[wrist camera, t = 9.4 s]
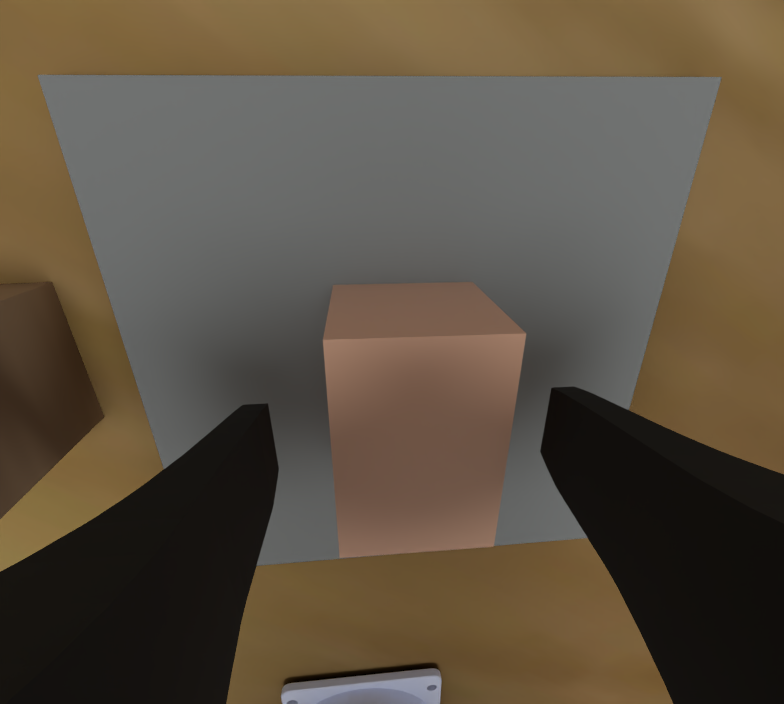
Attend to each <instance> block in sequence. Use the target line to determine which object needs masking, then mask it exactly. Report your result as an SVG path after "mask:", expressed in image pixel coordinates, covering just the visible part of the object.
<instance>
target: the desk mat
mask: <svg viewBox="0 0 784 704" xmlns="http://www.w3.org/2000/svg"><path fill="white" fill-rule="evenodd" d="M38 78H39V81H40V84H41V87H42V90H43V93H44V97H45V100H46V103H47V106H48V109H49V112H50V115H51V118H52V122H53V125H54V128H55V131H56V134H57V137H58V140H59V143H60V146H61V150H62V153H63V156H64V159H65V162H66V165H67V168H68V171H69V175H70V178H71V181H72V184H73V187H74V190H75V193H76V196H77V199H78V203H79V206H80V209H81V212H82V215H83V218H84V221H85V224H86V228H87V231H88V234H89V237H90V240H91V243H92V246H93V249H94V253H95V256H96V259H97V262H98V265H99V268H100V271H101V274H102V277H103V281H104V284H105V287H106V290H107V293H108V296H109V299H110V302H111V306H112V309H113V312H114V315H115V318H116V321H117V324H118V327H119V330H120V334H121V337H122V340H123V343H124V346H125V349H126V352H127V355H128V359H129V362H130V365H131V368H132V371H133V374H134V377H135V380H136V383H137V387H138V390H139V393H140V396H141V399H142V402H143V405H144V408H145V412H146V415H147V418H148V421H149V424H150V427H151V430H152V433H153V437H154V440H155V443H156V446H157V449H158V452H159V455H160V458H161V461H162V465H163V468H164V469H165V468H166V467H168V466H169V465H170V464H172V463H173V462H174V461H176V460H177V459H178V458H179V457H181V456H182V455H183V454H185V453H186V452H187V451H188V450H189V449H191V448H192V447H193V446H194V445H195V444H197V443H198V442H199V441H200V440H201V439H202V438H204V437H205V436H206V435H207V434H208V433H210V432H211V431H212V430H213V429H214V428H215V427H217V426H218V425H219V424H220V423H221V422H222V421H224V420H225V419H226V418H227V417H228V416H229V415H231V414H232V413H233V412H234V411H235V410H237V409H238V408H239V407H240V406H242V405H246V404H265V403H268V406H269V412H270V418H271V424H272V430H273V436H274V442H275V448H276V454H277V460H278V466H279V472H278V479H277V486H276V493H275V499H274V505H273V509H272V513H271V517H270V520H269V524H268V527H267V531H266V534H265V538H264V541H263V545H262V548H261V552H260V555H259V558H258V562H257V565H256V566H259V565H271V564H283V563H295V562H307V561H319V560H331V559H342V558H340V556H339V543H338V530H337V517H336V504H335V491H334V478H333V465H332V452H331V439H330V426H329V413H328V400H327V387H326V374H325V361H324V348H323V337H324V331H325V326H326V320H327V315H328V310H329V304H330V299H331V293H332V288H333V285H349V284H397V283H445V282H473V283H474V284H475V285H476V286H477V287H478V288H479V289H480V290H481V291H482V292H483V293H484V294H486V295H487V296H488V297H489V298H490V299H491V300H492V301H493V302H494V303H495V304H496V305H497V306H498V307H499V308H500V309H501V310H502V311H503V312H504V313H505V314H507V315H508V316H509V317H510V318H511V319H512V320H513V321H514V322H515V323H516V324H517V325H518V326H519V327H520V328H521V329H522V330H523V331H524V332H525V333H526V339H525V346H524V352H523V359H522V366H521V372H520V379H519V385H518V392H517V398H516V405H515V411H514V418H513V424H512V431H511V437H510V444H509V450H508V457H507V464H506V470H505V477H504V483H503V490H502V496H501V503H500V509H499V516H498V522H497V529H496V535H495V542H494V546H497V545H509V544H521V543H533V542H545V541H557V540H568V539H580V538H588V537H587V536H586V534H585V533H584V531H583V530H582V528H581V526H580V525H579V523H578V522H577V520H576V519H575V517H574V515H573V514H572V512H571V511H570V509H569V507H568V506H567V504H566V502H565V501H564V499H563V498H562V496H561V494H560V493H559V491H558V489H557V488H556V486H555V484H554V482H553V480H552V478H551V475H550V473H549V471H548V469H547V467H546V464H545V462H544V460H543V457H542V455H541V453H540V449H541V443H542V438H543V432H544V427H545V421H546V415H547V410H548V404H549V398H550V393H551V388H554V387H572V386H574V387H577V388H580V389H583V390H585V391H588V392H590V393H593V394H595V395H597V396H599V397H601V398H604V399H606V400H608V401H610V402H612V403H614V404H616V405H618V406H621V407H623V408H625V409H627V410H629V407H630V404H631V400H632V397H633V393H634V389H635V386H636V382H637V379H638V375H639V372H640V368H641V364H642V361H643V357H644V354H645V350H646V346H647V343H648V339H649V336H650V332H651V328H652V325H653V321H654V318H655V314H656V311H657V307H658V303H659V300H660V296H661V293H662V289H663V285H664V282H665V278H666V275H667V271H668V267H669V264H670V260H671V257H672V253H673V249H674V246H675V242H676V239H677V235H678V232H679V228H680V224H681V221H682V217H683V214H684V210H685V206H686V203H687V199H688V196H689V192H690V188H691V185H692V181H693V178H694V174H695V171H696V167H697V163H698V160H699V156H700V153H701V149H702V145H703V142H704V138H705V135H706V131H707V127H708V124H709V120H710V117H711V113H712V110H713V106H714V102H715V99H716V95H717V92H718V88H719V84H720V81H721V77H518V76H211V75H38ZM388 555H390V554H388ZM375 556H378V555H375ZM361 557H366V556H361ZM348 558H354V557H348Z"/></svg>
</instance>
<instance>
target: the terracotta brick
mask: <svg viewBox="0 0 784 704" xmlns="http://www.w3.org/2000/svg"><path fill="white" fill-rule="evenodd" d="M525 339H526V333H525V332H524V331H523V330H522V329H521V328H520V327H519V326H518V325H517V324H516V323H515V322H514V321H513V320H512V319H511V318H510V317H509V316H508V315H507V314H505V313H504V312H503V311H502V310H501V309H500V308H499V307H498V306H497V305H496V304H495V303H494V302H493V301H492V300H491V299H490V298H489V297H488V296H487V295H486V294H484V293H483V292H482V291H481V290H480V289H479V288H478V287H477V286H476V285H475V284H474V283H473V282H445V283H397V284H349V285H333V288H332V293H331V299H330V304H329V310H328V315H327V320H326V326H325V331H324V337H323V348H324V361H325V374H326V387H327V400H328V413H329V426H330V439H331V452H332V465H333V478H334V491H335V504H336V517H337V530H338V543H339V556H340V558H348V557H361V556H375V555H388V554H402V553H415V552H429V551H442V550H456V549H469V548H483V547H494V542H495V535H496V529H497V522H498V516H499V509H500V503H501V496H502V490H503V483H504V477H505V470H506V464H507V457H508V450H509V444H510V437H511V431H512V424H513V418H514V411H515V405H516V398H517V392H518V385H519V379H520V372H521V366H522V359H523V352H524V346H525Z"/></svg>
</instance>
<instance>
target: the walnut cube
mask: <svg viewBox="0 0 784 704" xmlns="http://www.w3.org/2000/svg"><path fill="white" fill-rule="evenodd" d="M103 418H104V415H103V412H102V410H101V407H100V405H99V402H98V399H97V397H96V394H95V392H94V389H93V387H92V384H91V381H90V379H89V376H88V374H87V371H86V368H85V366H84V363H83V361H82V358H81V355H80V353H79V350H78V348H77V345H76V343H75V340H74V337H73V335H72V332H71V330H70V327H69V324H68V322H67V319H66V317H65V314H64V312H63V309H62V306H61V304H60V301H59V299H58V296H57V293H56V291H55V288H54V286H53V283H52V282H41V283H17V284H0V519H1V518H2V517H3V516H4V515H5V514H6V513H7V512H8V511H9V510H10V509H11V508H12V507H13V506H14V505H15V504H16V503H17V502H18V501H19V500H20V499H21V498H22V497H23V496H24V495H25V494H26V493H27V492H28V491H29V490H30V489H31V488H32V487H33V486H34V485H35V484H36V483H37V482H38V481H39V480H41V479H42V478H43V477H44V476H45V475H46V474H47V473H48V472H49V471H50V470H51V469H52V468H53V467H54V466H55V465H56V464H57V463H58V462H59V461H60V460H61V459H62V458H63V457H64V456H65V455H66V454H67V453H68V452H69V451H70V450H71V449H72V448H73V447H74V446H75V445H76V444H77V443H78V442H79V441H80V440H81V439H82V438H83V437H84V436H85V435H86V434H87V433H88V432H89V431H90V430H91V429H92V428H93V427H94V426H95V425H96V424H98V423H99V422H100V421H101V420H102V419H103Z"/></svg>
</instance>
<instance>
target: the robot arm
mask: <svg viewBox="0 0 784 704" xmlns="http://www.w3.org/2000/svg"><path fill="white" fill-rule="evenodd" d="M540 453H541V455H542V457H543V460H544V462H545V464H546V467H547V469H548V471H549V473H550V475H551V478H552V480H553V482H554V484H555V486H556V488H557V489H558V491H559V493H560V494H561V496H562V498H563V499H564V501H565V502H566V504H567V506H568V507H569V509H570V511H571V512H572V514H573V515H574V517H575V519H576V520H577V522H578V523H579V525H580V526H581V528H582V530H583V531H584V533H585V534H586V536H587V537H588V539H589V541H590V542H591V544H592V545H593V547H594V549H595V550H596V552H597V553H598V555H599V556H600V558H601V560H602V561H603V563H604V564H605V566H606V568H607V569H608V571H609V573H610V575H611V576H612V578H613V580H614V582H615V583H616V585H617V587H618V589H619V591H620V593H621V595H622V597H623V599H624V601H625V603H626V605H627V607H628V609H629V611H630V613H631V614H632V616H633V618H634V620H635V622H636V624H637V626H638V628H639V630H640V632H641V634H642V637H643V639H644V641H645V643H646V645H647V647H648V649H649V651H650V653H651V656H652V658H653V660H654V662H655V664H656V666H657V668H658V670H659V672H660V675H661V677H662V679H663V681H664V683H665V685H666V688H667V690H668V692H669V694H670V697H671V699H672V701H673V704H784V474H781V473H778V472H775V471H772V470H769V469H767V468H764V467H761V466H758V465H756V464H753V463H750V462H747V461H745V460H742V459H739V458H736V457H734V456H731V455H729V454H726V453H724V452H721V451H718V450H716V449H714V448H711V447H709V446H706V445H704V444H702V443H699V442H697V441H695V440H692V439H690V438H688V437H685V436H683V435H681V434H678V433H676V432H674V431H672V430H670V429H667V428H665V427H663V426H661V425H659V424H656V423H654V422H652V421H650V420H648V419H646V418H644V417H642V416H639V415H637V414H635V413H633V412H631V411H629V410H627V409H625V408H623V407H621V406H618V405H616V404H614V403H612V402H610V401H608V400H606V399H604V398H601V397H599V396H597V395H595V394H593V393H590V392H588V391H585V390H583V389H580V388H577V387H574V386H572V387H554V388H551V393H550V398H549V404H548V410H547V415H546V421H545V427H544V432H543V438H542V443H541V449H540ZM278 472H279V466H278V460H277V454H276V448H275V442H274V436H273V430H272V424H271V418H270V412H269V406H268V403H265V404H246V405H242V406H240V407H239V408H238V409H237V410H235V411H234V412H233V413H232V414H231V415H229V416H228V417H227V418H226V419H225V420H224V421H222V422H221V423H220V424H219V425H218V426H217V427H215V428H214V429H213V430H212V431H211V432H210V433H208V434H207V435H206V436H205V437H204V438H202V439H201V440H200V441H199V442H198V443H197V444H195V445H194V446H193V447H192V448H191V449H189V450H188V451H187V452H186V453H185V454H183V455H182V456H181V457H179V458H178V459H177V460H176V461H174V462H173V463H172V464H170V465H169V466H168V467H166V468H165V469H164V470H163V471H161V472H160V473H159V474H157V475H156V476H155V477H153V478H152V479H151V480H150V481H148V482H147V483H146V484H144V485H143V486H141V487H140V488H139V489H137V490H136V491H134V492H133V493H131V494H130V495H129V496H127V497H126V498H124V499H123V500H121V501H120V502H118V503H117V504H115V505H114V506H112V507H111V508H109V509H108V510H106V511H104V512H103V513H101V514H100V515H98V516H97V517H95V518H94V519H92V520H90V521H89V522H87V523H86V524H84V525H82V526H81V527H79V528H77V529H75V530H74V531H72V532H70V533H68V534H67V535H65V536H63V537H62V538H60V539H58V540H56V541H55V542H53V543H51V544H49V545H48V546H46V547H44V548H43V549H41V550H39V551H37V552H36V553H34V554H32V555H30V556H29V557H27V558H25V559H23V560H22V561H20V562H18V563H16V564H14V565H12V566H10V567H9V568H7V569H5V570H3V571H1V572H0V704H226V701H227V695H228V690H229V684H230V678H231V672H232V667H233V662H234V657H235V652H236V646H237V641H238V636H239V631H240V625H241V620H242V616H243V612H244V608H245V604H246V600H247V596H248V593H249V589H250V586H251V583H252V579H253V576H254V572H255V569H256V565H257V562H258V558H259V555H260V552H261V548H262V545H263V541H264V538H265V534H266V531H267V527H268V524H269V520H270V517H271V513H272V509H273V505H274V499H275V493H276V486H277V479H278ZM441 682H442V679H441V673H440V671H439V670H438V669H435V668H428V669H419V670H409V671H400V672H390V673H381V674H371V675H362V676H352V677H343V678H333V679H324V680H314V681H305V682H295V683H289V684H286V685H285V686H284V687H283V688H282V693H281V700H282V704H440V696H441Z"/></svg>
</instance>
